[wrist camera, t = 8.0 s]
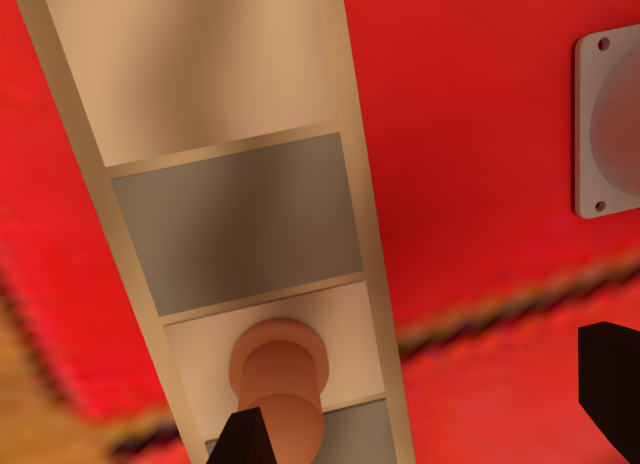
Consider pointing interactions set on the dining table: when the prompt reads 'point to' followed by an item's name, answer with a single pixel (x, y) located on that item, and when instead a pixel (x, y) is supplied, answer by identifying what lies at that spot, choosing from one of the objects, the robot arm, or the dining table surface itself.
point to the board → (233, 196)
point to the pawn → (283, 385)
